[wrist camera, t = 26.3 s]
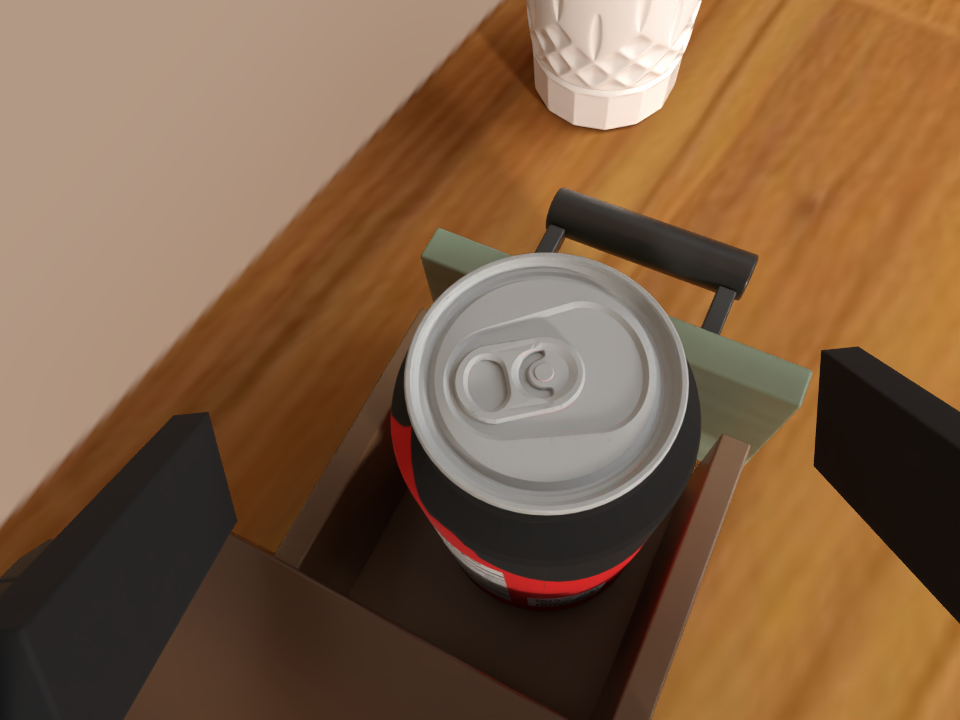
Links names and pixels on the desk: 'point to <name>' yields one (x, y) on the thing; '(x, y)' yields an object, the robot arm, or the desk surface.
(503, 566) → the beverage can
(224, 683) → the cabinet
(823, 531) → the desk surface
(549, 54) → the white cup
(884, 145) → the desk surface
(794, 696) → the desk surface
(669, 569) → the drawer
